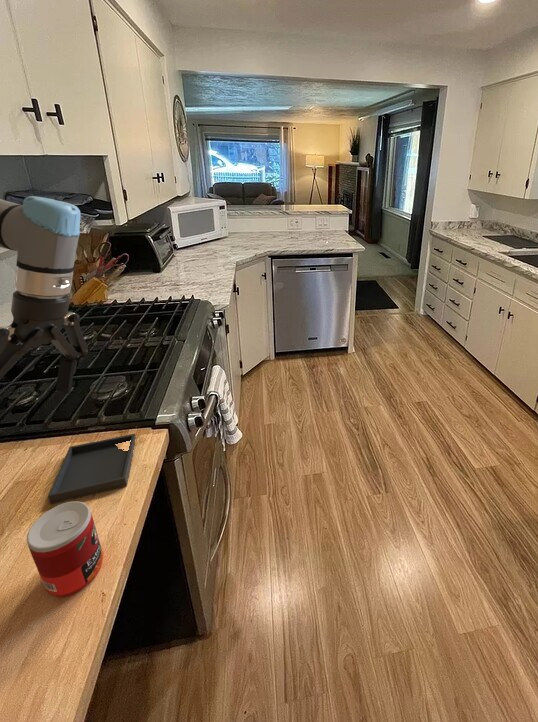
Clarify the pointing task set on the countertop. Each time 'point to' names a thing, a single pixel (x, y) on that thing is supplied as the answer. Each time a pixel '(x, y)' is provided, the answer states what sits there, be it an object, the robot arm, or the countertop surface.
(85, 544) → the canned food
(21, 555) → the countertop surface
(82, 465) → the tray
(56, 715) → the countertop surface
